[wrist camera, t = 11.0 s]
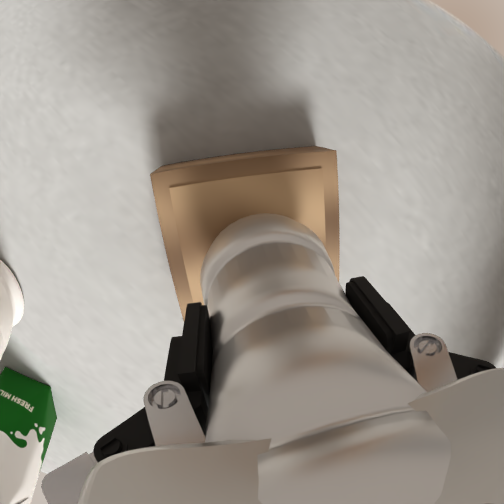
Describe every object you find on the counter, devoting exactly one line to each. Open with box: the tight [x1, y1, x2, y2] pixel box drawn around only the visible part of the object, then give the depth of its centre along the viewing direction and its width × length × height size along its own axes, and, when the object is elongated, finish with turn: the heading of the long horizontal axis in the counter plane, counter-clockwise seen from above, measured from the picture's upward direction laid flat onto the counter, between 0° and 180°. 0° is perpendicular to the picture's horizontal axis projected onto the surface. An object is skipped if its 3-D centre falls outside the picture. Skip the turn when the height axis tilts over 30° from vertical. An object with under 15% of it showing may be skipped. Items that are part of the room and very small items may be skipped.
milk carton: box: [0, 367, 57, 504], centre depth 19 cm, size 9×9×20 cm
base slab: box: [150, 146, 339, 321], centre depth 21 cm, size 11×11×4 cm
